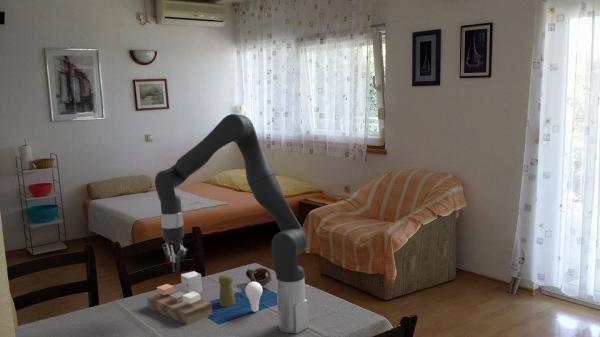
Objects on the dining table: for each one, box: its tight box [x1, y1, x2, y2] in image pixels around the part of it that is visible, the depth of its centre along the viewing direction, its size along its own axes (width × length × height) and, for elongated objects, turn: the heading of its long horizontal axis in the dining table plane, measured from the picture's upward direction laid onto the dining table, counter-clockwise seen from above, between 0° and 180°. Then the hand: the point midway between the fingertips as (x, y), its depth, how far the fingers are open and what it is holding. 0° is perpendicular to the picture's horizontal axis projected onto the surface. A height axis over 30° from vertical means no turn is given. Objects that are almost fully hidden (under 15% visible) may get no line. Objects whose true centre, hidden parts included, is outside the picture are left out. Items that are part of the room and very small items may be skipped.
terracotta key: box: [156, 283, 175, 295], centre depth 193 cm, size 4×4×2 cm
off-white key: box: [183, 292, 202, 304], centre depth 183 cm, size 4×4×2 cm
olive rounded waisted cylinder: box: [218, 273, 236, 307], centre depth 193 cm, size 6×6×11 cm
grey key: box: [170, 291, 185, 303], centre depth 188 cm, size 4×4×2 cm
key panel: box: [146, 288, 213, 325], centre depth 189 cm, size 24×11×4 cm, turn 49°
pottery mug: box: [245, 267, 273, 287], centre depth 211 cm, size 12×10×8 cm
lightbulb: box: [244, 281, 263, 313], centre depth 185 cm, size 6×6×11 cm
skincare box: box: [180, 270, 203, 294], centre depth 206 cm, size 6×6×7 cm
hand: (176, 271), depth 187 cm, fingers closed
